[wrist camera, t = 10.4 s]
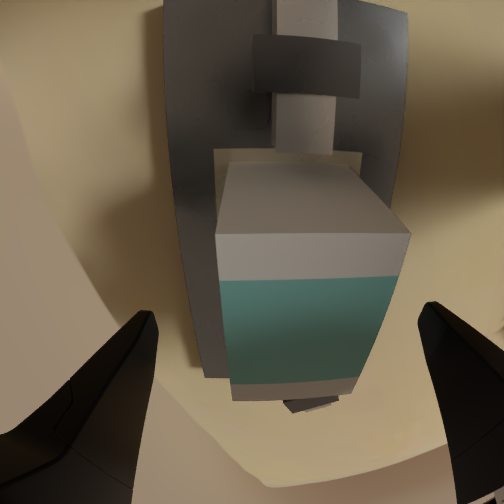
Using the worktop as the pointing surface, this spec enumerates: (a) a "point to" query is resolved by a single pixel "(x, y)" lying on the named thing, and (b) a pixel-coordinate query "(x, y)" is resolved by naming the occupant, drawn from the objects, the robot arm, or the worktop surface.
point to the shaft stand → (273, 115)
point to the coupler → (303, 277)
